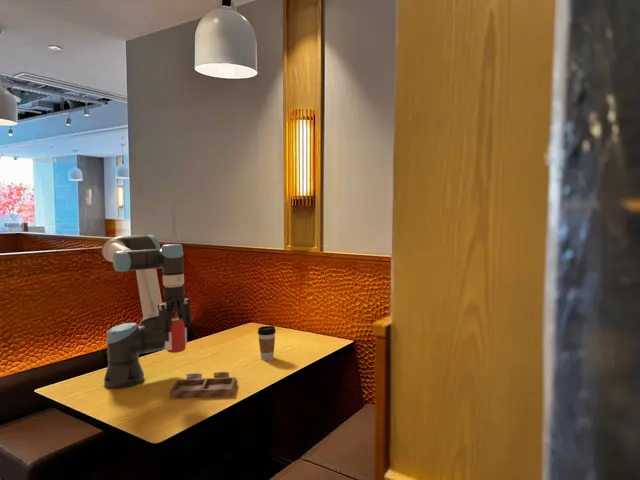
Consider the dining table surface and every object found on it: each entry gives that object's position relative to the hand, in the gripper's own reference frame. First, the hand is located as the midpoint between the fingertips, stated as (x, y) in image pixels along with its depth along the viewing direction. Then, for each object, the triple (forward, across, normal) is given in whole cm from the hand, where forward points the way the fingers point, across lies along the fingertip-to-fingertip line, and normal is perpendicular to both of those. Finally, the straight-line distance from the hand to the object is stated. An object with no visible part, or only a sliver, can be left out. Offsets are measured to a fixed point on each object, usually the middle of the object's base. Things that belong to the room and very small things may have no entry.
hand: (176, 346), depth 167 cm
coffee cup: (+19, +52, -3) cm, 55 cm away
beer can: (+2, 0, 0) cm, 2 cm away
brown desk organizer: (+19, +10, -3) cm, 22 cm away
